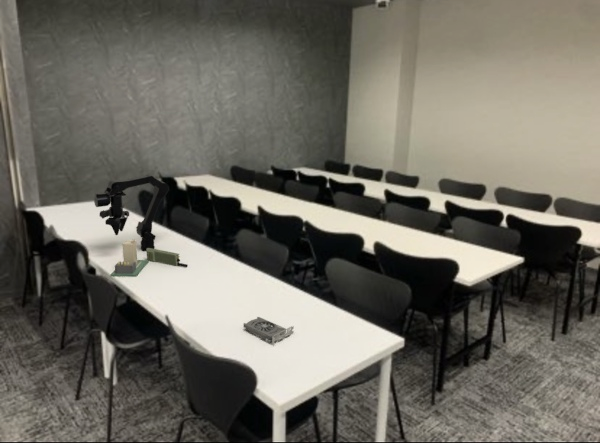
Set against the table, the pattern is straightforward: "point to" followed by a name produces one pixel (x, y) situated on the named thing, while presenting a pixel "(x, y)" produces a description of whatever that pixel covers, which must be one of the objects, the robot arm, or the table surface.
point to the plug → (130, 252)
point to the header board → (129, 268)
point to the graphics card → (268, 330)
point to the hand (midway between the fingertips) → (119, 233)
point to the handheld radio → (164, 257)
